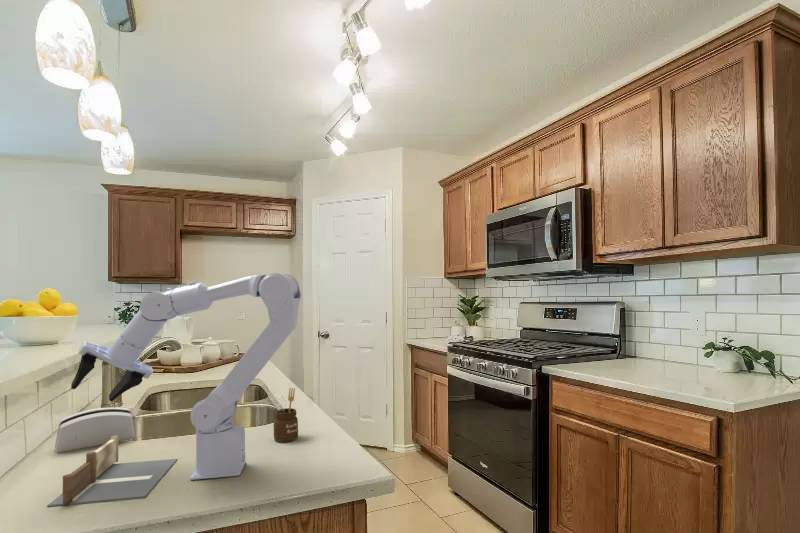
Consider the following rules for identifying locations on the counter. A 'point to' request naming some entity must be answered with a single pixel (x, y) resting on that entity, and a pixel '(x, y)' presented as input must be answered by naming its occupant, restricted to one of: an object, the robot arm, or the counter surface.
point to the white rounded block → (94, 428)
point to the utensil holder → (286, 422)
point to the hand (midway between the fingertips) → (92, 392)
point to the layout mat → (122, 482)
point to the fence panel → (106, 455)
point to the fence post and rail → (79, 479)
